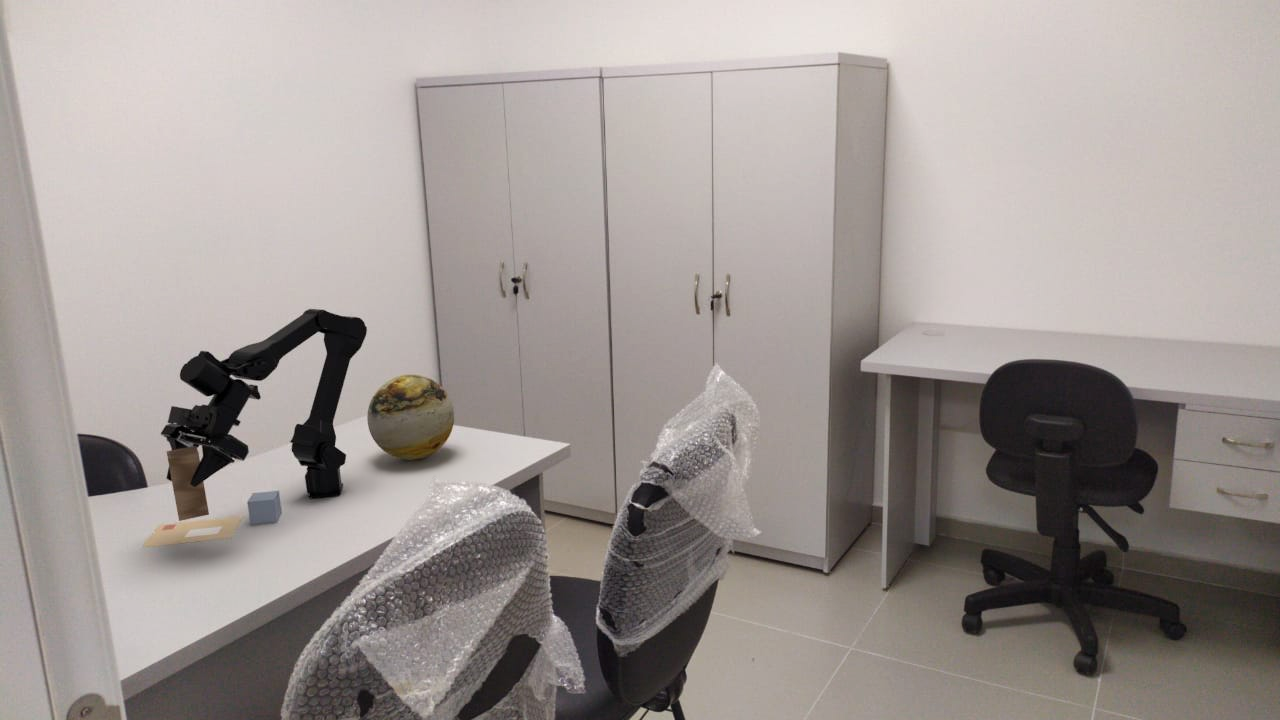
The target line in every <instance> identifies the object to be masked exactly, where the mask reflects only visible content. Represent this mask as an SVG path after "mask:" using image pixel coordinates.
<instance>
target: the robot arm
mask: <svg viewBox="0 0 1280 720" xmlns="http://www.w3.org/2000/svg"><path fill="white" fill-rule="evenodd" d="M367 332H368V327H367V326H366V323H365V321H364V320H363V319H362V318H361V317H357V316H347V315H339V314H336V313H332V312H329V311H327V310H325V309H317V308H308V309H307V310H305V311H303V312H302V314H301V315H299V316H298V317H296V318H295V319H293V321H291V322H289V323H288V324H286V325H285V326H284V327H282V328H280V329H279V330H277V331H276V332H274V333H273V334H272V335H270V336H269V337H267V338H266V339H263V340H262V341H259V342H254V343H251V344H247V345H245V346H242V347H241V348H238V349H236V350H233V352H232V353H230V355H229V356H228V358H225V359H223V360H221V361H220V360H219V359H217V358H216V357H215V356H214V355H213V354H212V353H210V352H209V351H207V350H200V352H199V353H198V354H197V355H195V356H194V357H192V358H190V359H189V360H188V361H187V362H186V363H184V364H183V366H182V367H181V369H180V371H179V378H180V381H182V382H184V383H185V384H187V385H188V386H190V387H191V388H192V389H194V390H196V391H197V392H199V393H200V394H201V395H203V396H205V397H211V399H210V401H208V402H209V403H208V404H202V405H198V404H196V405H194V406H193V407H192V409H191V408H187V407H186V408H185V407H180V406H174V405H171V407H170V412H169V416H168V419H167V423H168V424H165V426H164V427H163V429H162V430H161V432H160V435H161V436H163V437H165V438H166V441H167V442H168V443H169V446H170V448H171V450H176V449H182V448H187V447H192V446H197V449H198V448H199V447H200V446H201V450H202V451H201V452H202V457H201V459H200V463H199V465H198V467H197V469H196V471H195V473H194V476H193V478H192V480H191V483H190V485H192V486H194V487H196V486H198V485H199V484H200V483H202V482H204V481H206V480H207V479H209V478H210V477H212V476H213V475H215V473H217V472H218V471H221V470H222V469H224V468H225V467H226V466H228V465H230V464H234V463H235V460H236V461H237V460H238V461H242V462H244V461H245V459H246V458H247V456H248V455H249V453H250V452H249V450H250V449H249V445H248V444H246V443H245V442H243V441H241V440H240V439H238V438H237V437H235V436H234V435H232V434H229V433H230V431H231V430H232V429H233V426H234V427H239V426H240V424H241V422H242V421H241V420H239V419H238V418H239V416H240V415H241V413H242V411H243V409H244V408H245V405H246V404H247V403H248V401H249V399H253V400H258V401H260V399H261V398H262V396H261V393H260V391H259V387H258V385H256V384H251V383H250V384H248V383H247V382H246V381H244V380H248V381H255V382H256V381H257V382H260V381H265V380H266V379H267V378H268V377H269V376H270V375H271V374H272V373H273V372H274V371H275V370H276V369H277V367H279V363H280V361H281V360H282V359H283V358H284V357H285V356H286V355H288V354H289V353H290V352H292V351H293V350H295V349H296V348H298V346H300V345H301V344H304V343H305V342H306V341H307V340H309V339H310V338H311V337H313V336H314V335H316V334H317V333H321V334H323V335H324V336H323V344H324V347H325V351H326V355H325V360H324V363H323V367H322V369H321V370H322V371H321V374H320V377H319V381H318V385H317V387H316V392H315V395H314V400H313V403H312V406H311V409H310V413H309V417H307V419H306V420H305V421H304V423H302V424H301V423H297V424H295V426H294V432H293V436H292V438H291V439H290V441H289V442H290V443H291V449H290V450H291V453H293V457H294V458H296V460H297V461H298V463H299V465H300V466H301V467H306V472H305V475H304V479H305V488H306V493H307V494H308V495H307V497H308V499H317V498H319V499H320V498H328V497H336V496H340V495H341V494H342V491H343V488H344V483H342V477H341V475H342V474H341V469H340V468H341V467H342V466H344V465H345V464H346V459H347V454H346V453H345V452H343V451H342V450H341V449H340V448H338V447H337V446H336V441H337V436H336V431H335V427H334V420H335V416H336V413H337V410H338V409H337V408H338V405H339V401H340V398H341V395H342V390H343V387H344V383H345V380H346V377H347V376H346V375H347V373H348V370H349V365H350V363H351V360H352V358H353V357H354V356H355V355H356V353H357V352H359V351H360V350H361V348H362V346H363V344H364V342H365V339H366V337H367ZM231 376H233V377H234V378H233V377H231ZM166 480H168V481H171V482H172V479H171V473H170V468H169V467H168V470H167V473H166Z"/></svg>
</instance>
